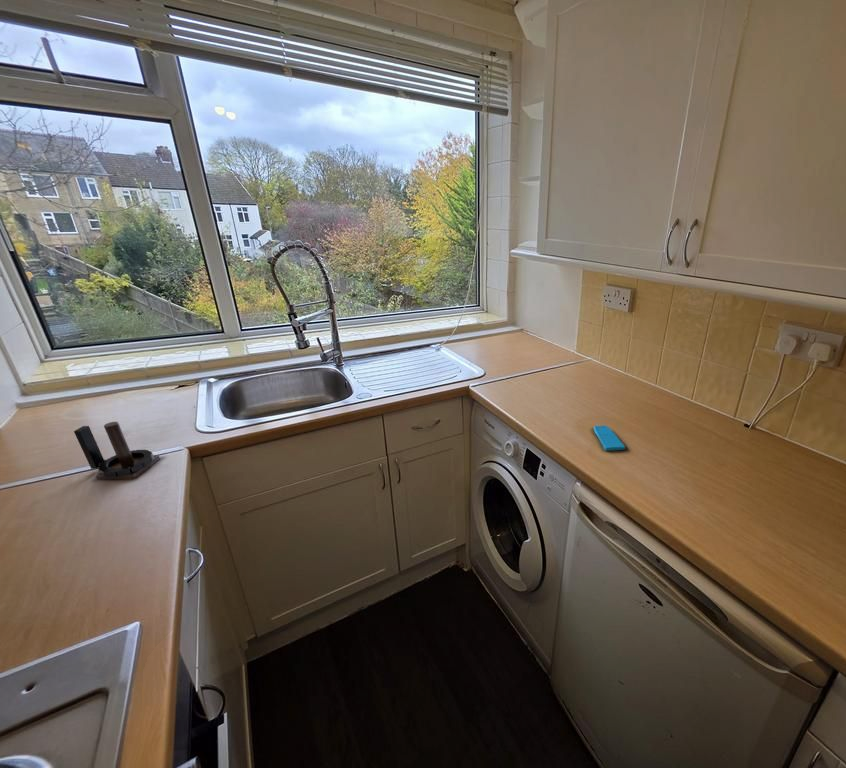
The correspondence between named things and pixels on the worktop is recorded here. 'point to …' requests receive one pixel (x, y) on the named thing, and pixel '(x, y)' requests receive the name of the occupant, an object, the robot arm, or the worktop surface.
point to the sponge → (608, 438)
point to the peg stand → (122, 452)
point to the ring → (104, 466)
